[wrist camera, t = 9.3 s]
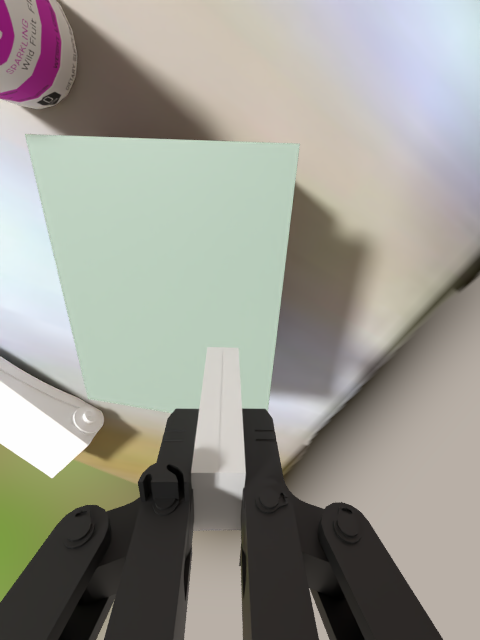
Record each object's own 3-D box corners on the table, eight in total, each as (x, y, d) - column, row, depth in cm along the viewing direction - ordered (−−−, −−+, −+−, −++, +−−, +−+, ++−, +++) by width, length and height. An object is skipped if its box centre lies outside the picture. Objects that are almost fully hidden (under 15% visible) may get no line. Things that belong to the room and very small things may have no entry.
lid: (40, 137, 18) (24, 133, 17) (299, 146, 16) (299, 143, 15) (96, 390, 27) (88, 398, 26) (266, 418, 25) (265, 429, 24)
